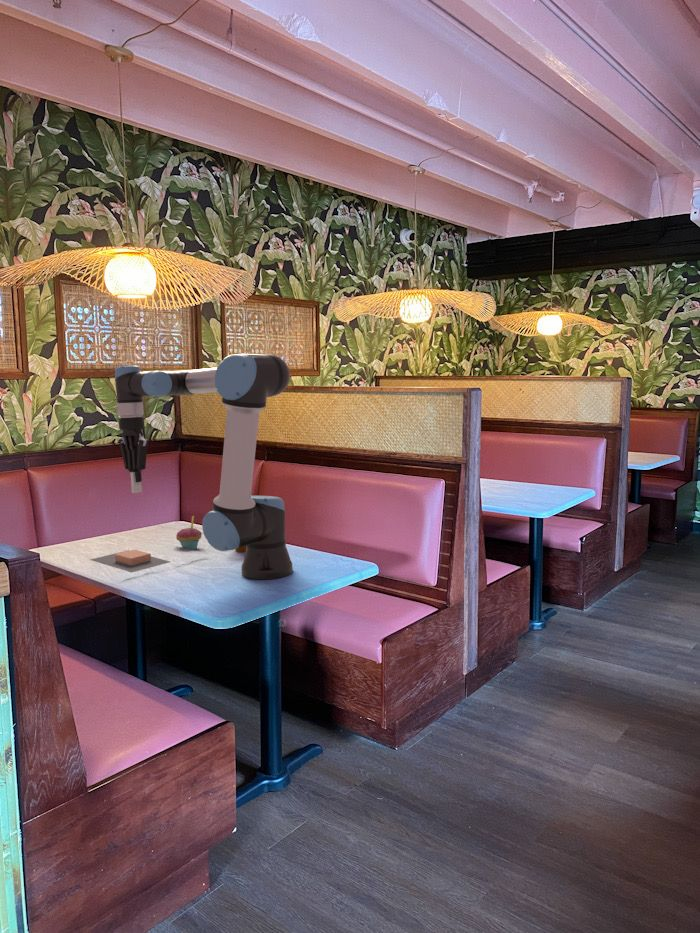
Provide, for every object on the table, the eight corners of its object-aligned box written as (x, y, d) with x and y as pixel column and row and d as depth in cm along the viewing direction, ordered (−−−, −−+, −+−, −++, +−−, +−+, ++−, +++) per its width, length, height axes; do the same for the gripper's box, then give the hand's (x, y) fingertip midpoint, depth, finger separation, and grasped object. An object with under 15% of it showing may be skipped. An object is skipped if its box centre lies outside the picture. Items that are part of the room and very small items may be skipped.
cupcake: (204, 545, 240) (203, 511, 238) (199, 551, 231) (197, 516, 230) (180, 545, 240) (178, 512, 238) (173, 552, 231) (171, 517, 230)
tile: (135, 556, 222) (151, 561, 216) (115, 561, 217) (131, 566, 211) (134, 549, 222) (150, 553, 216) (114, 554, 217) (130, 558, 211)
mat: (171, 564, 216) (171, 561, 216) (131, 575, 205) (131, 572, 205) (128, 553, 231) (128, 550, 231) (89, 562, 220) (89, 559, 220)
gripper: (154, 415, 210) (159, 492, 213) (129, 415, 218) (135, 489, 221) (132, 417, 204) (138, 495, 207) (108, 417, 212) (114, 492, 215)
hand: (137, 492), depth 214 cm, fingers closed
